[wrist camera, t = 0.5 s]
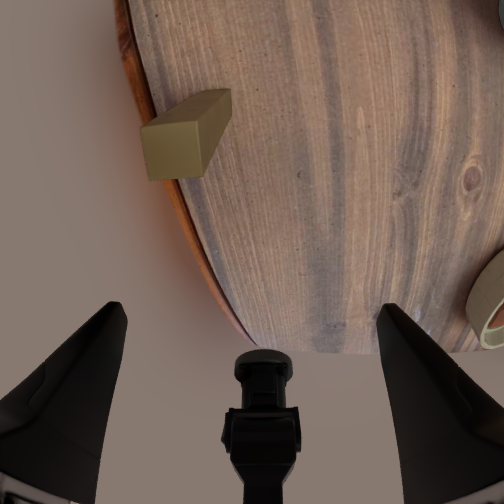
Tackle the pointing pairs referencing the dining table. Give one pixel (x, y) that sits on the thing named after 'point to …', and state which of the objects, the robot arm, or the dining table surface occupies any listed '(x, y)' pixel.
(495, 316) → the terracotta block
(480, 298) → the bowl
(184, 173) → the stirring stick
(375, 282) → the dining table surface
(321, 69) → the dining table surface
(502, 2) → the cup
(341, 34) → the dining table surface
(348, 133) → the dining table surface
